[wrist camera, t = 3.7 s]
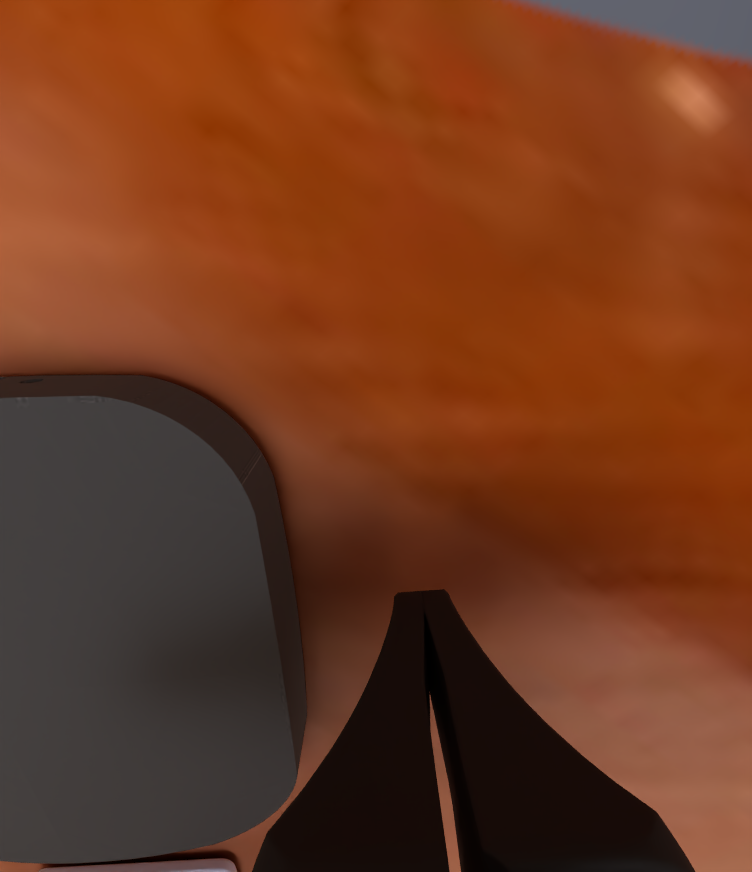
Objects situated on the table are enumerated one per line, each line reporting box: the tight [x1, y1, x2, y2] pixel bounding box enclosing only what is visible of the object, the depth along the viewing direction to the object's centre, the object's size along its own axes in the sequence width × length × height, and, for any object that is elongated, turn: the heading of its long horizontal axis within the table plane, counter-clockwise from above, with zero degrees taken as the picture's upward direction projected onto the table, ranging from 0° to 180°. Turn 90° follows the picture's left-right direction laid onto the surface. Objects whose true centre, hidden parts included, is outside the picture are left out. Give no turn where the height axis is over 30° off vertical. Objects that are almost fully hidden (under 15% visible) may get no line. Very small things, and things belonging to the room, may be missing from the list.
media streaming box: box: [0, 375, 307, 864], centre depth 13 cm, size 15×15×3 cm
